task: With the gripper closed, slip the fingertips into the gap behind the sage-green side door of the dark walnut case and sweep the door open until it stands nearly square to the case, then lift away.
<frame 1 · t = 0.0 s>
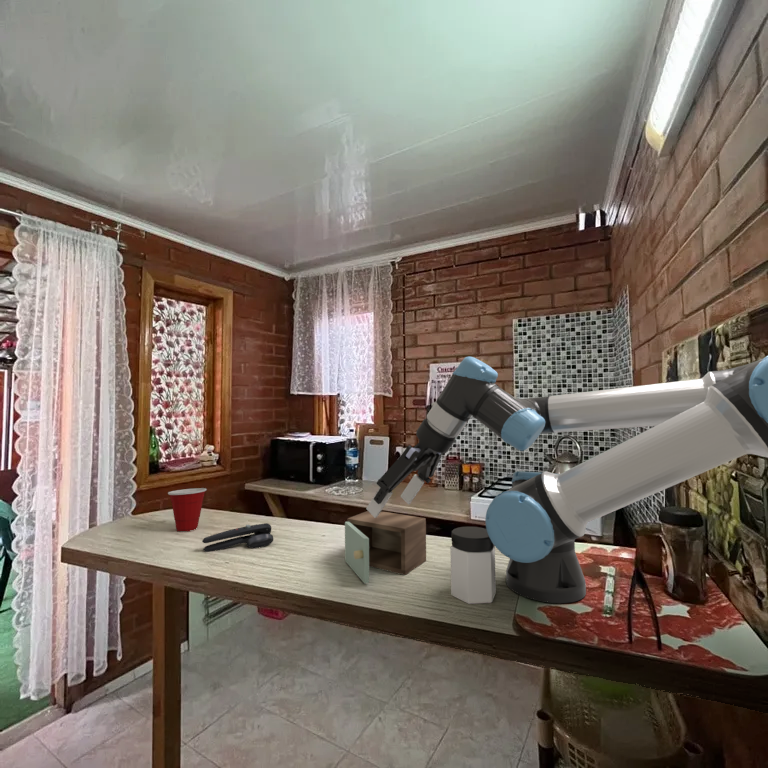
hand: (389, 506, 90), 15 cm above the table, tool tilted 35°, fingers open, 13 cm apart
plastic cup: (186, 529, 127), on the table
can opener: (238, 548, 110), on the table
jar: (473, 595, 81), on the table
case: (386, 560, 99), on the table
door: (352, 550, 92), point 5 cm above the table, hinge at 35.0°
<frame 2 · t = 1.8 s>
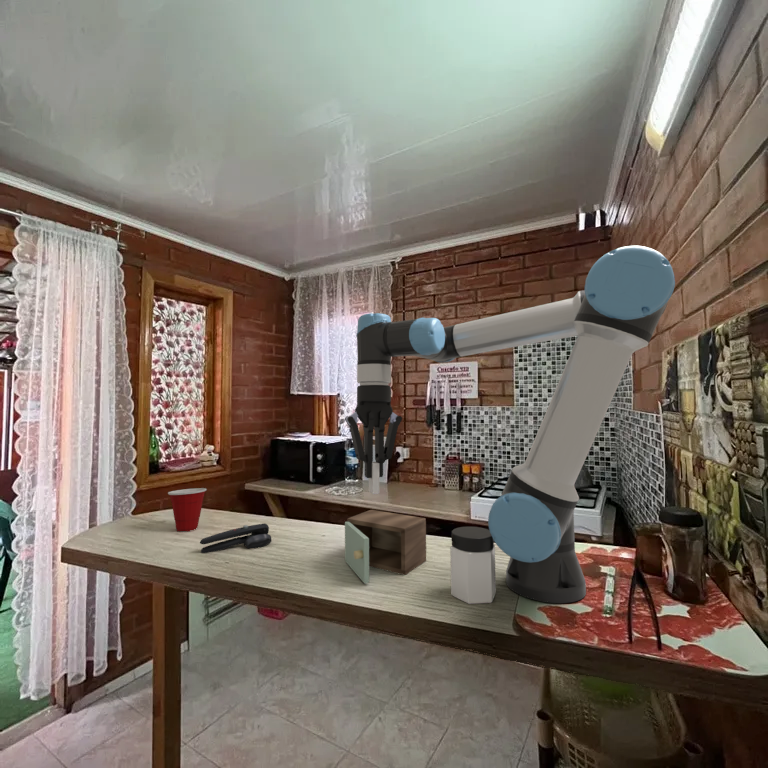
hand: (373, 492, 91), 18 cm above the table, tool pointing down, fingers closed
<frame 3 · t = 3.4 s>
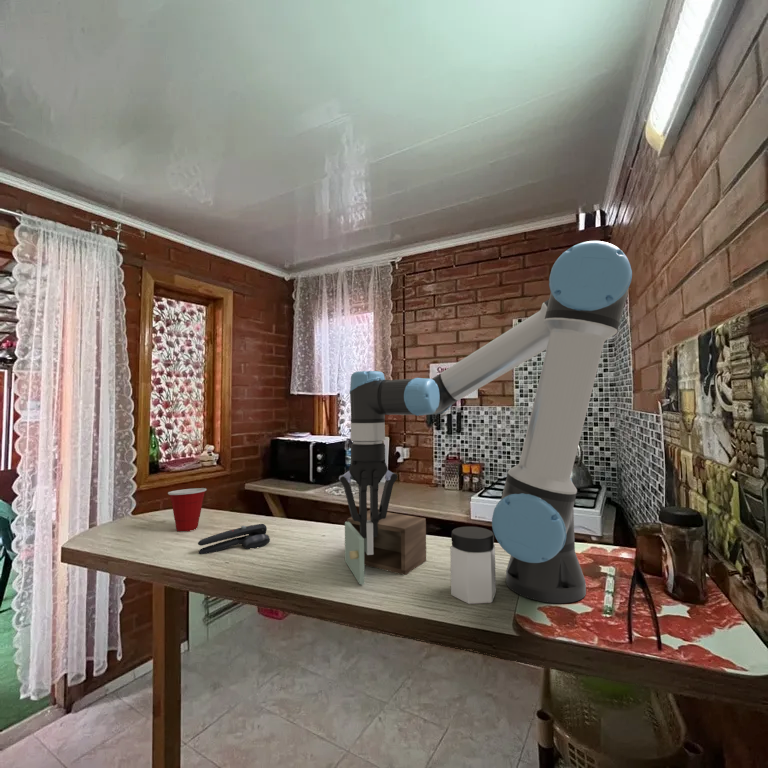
hand: (368, 552, 89), 6 cm above the table, tool pointing down, fingers closed
door: (350, 550, 92), point 5 cm above the table, hinge at 39.4°, touching gripper
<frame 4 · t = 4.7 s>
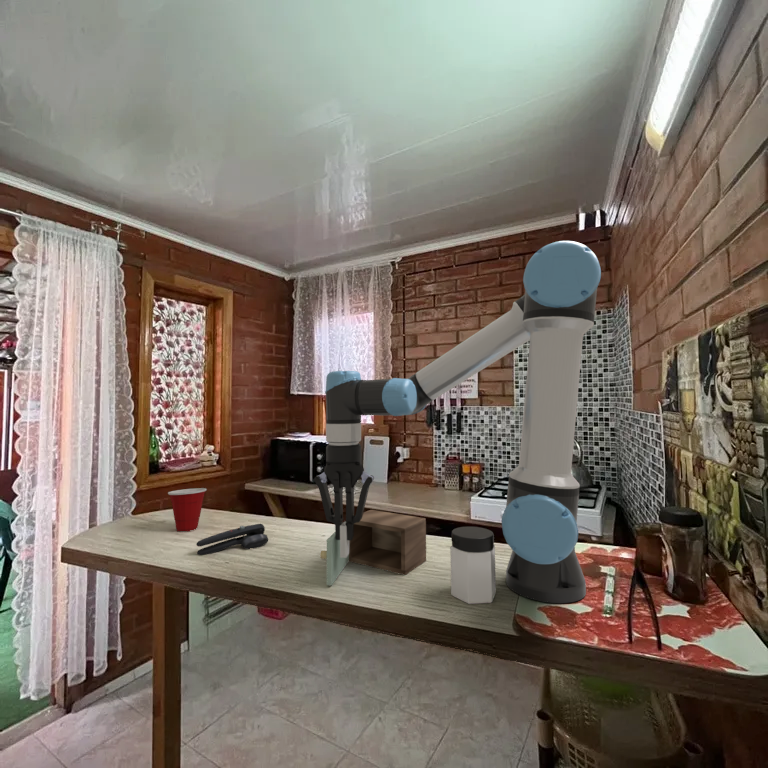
hand: (344, 555, 88), 5 cm above the table, tool pointing down, fingers closed
door: (335, 550, 92), point 5 cm above the table, hinge at 67.2°, touching gripper
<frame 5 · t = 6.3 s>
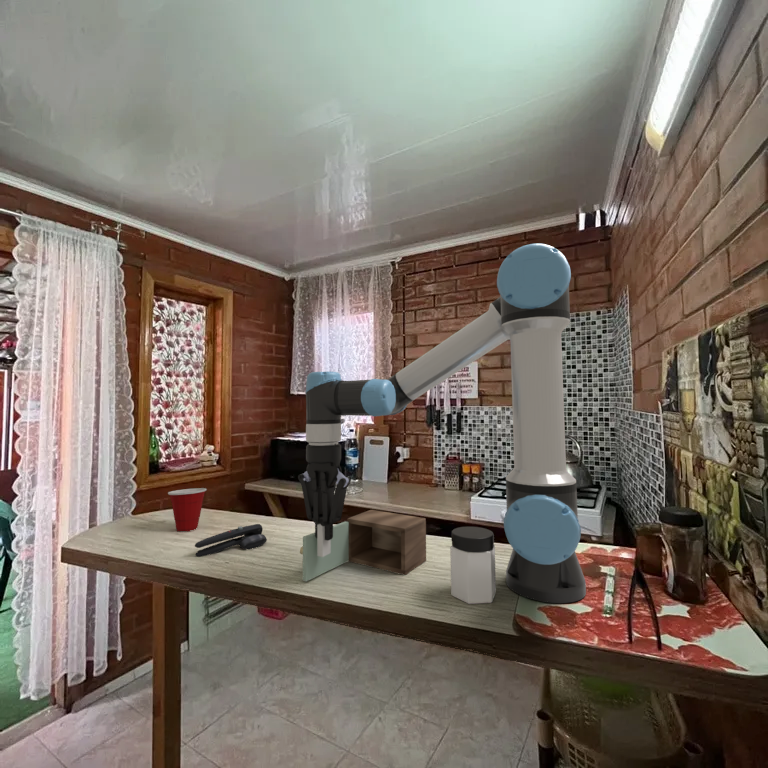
hand: (324, 554, 89), 5 cm above the table, tool pointing down, fingers closed
door: (324, 548, 94), point 5 cm above the table, hinge at 91.5°, touching gripper
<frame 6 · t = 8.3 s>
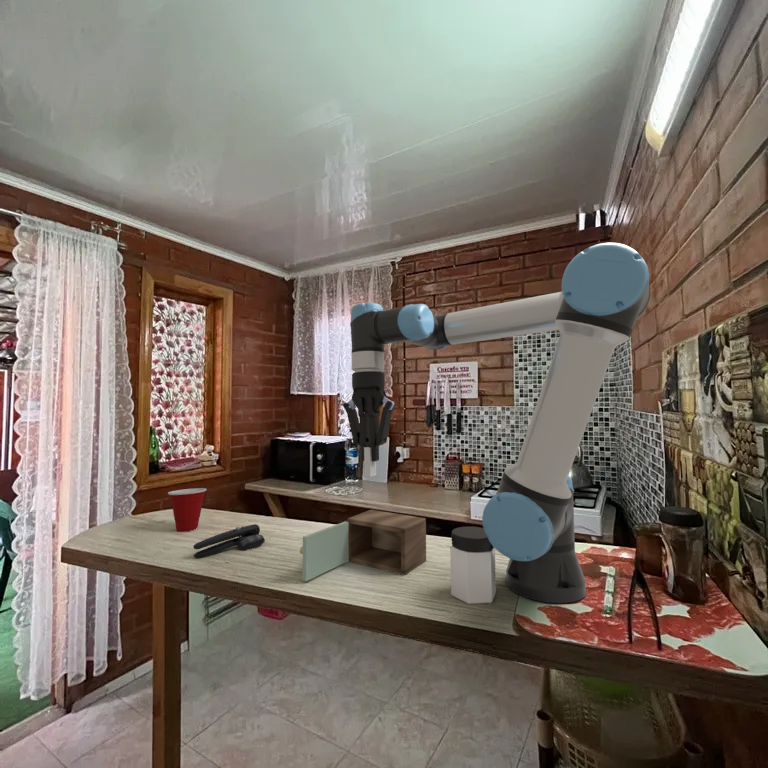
hand: (370, 475, 94), 21 cm above the table, tool pointing down, fingers closed
door: (324, 548, 94), point 5 cm above the table, hinge at 91.6°
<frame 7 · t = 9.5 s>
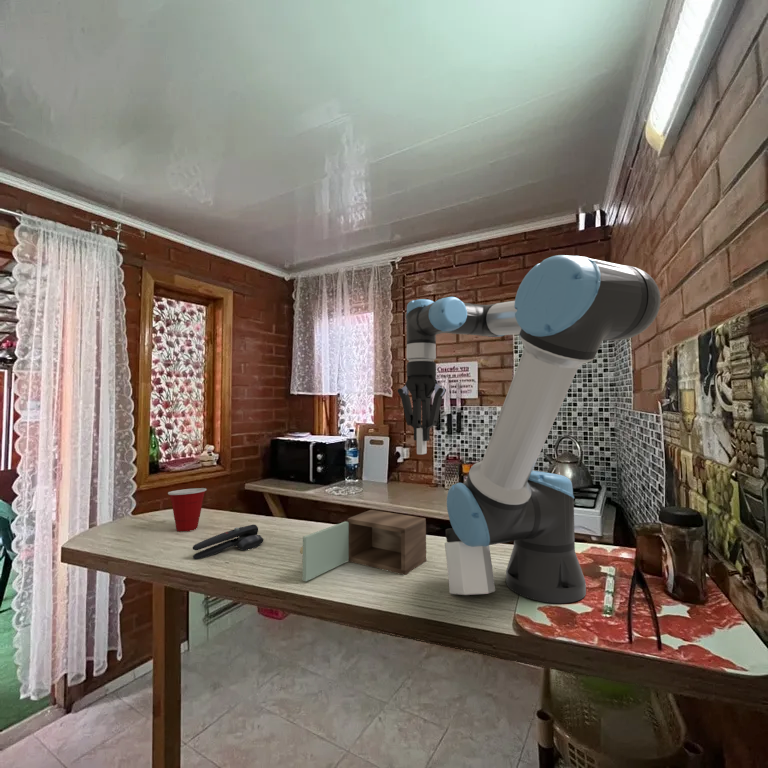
hand: (421, 453, 106), 25 cm above the table, tool pointing down, fingers closed
jar: (472, 593, 81), on the table, touching arm
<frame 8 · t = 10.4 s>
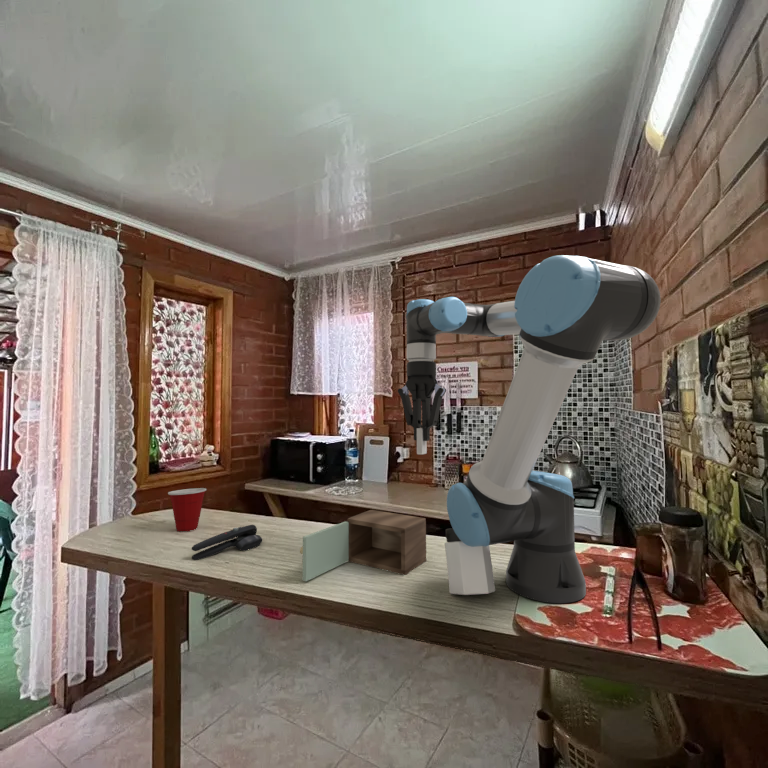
hand: (421, 453, 106), 25 cm above the table, tool pointing down, fingers closed
at the end: door at +92° (first picture: +35°); the gripper is holding nothing; jar moved 0.2 cm from its start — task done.
